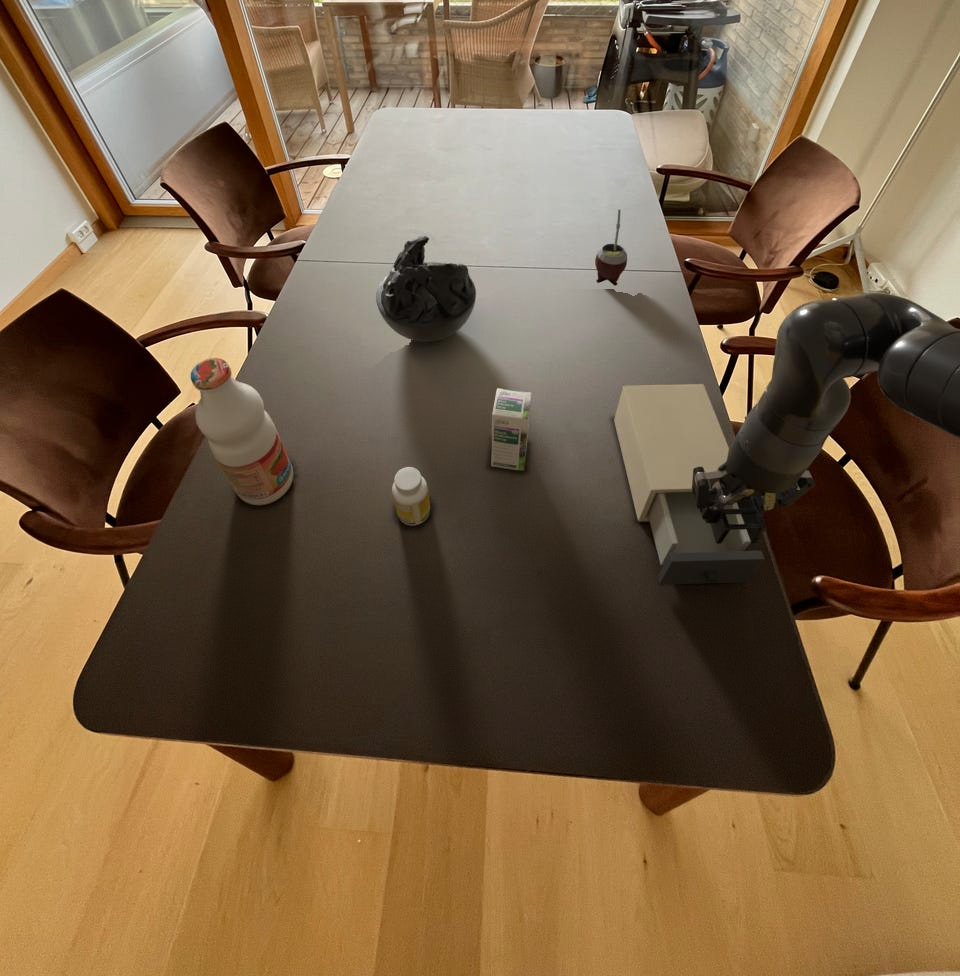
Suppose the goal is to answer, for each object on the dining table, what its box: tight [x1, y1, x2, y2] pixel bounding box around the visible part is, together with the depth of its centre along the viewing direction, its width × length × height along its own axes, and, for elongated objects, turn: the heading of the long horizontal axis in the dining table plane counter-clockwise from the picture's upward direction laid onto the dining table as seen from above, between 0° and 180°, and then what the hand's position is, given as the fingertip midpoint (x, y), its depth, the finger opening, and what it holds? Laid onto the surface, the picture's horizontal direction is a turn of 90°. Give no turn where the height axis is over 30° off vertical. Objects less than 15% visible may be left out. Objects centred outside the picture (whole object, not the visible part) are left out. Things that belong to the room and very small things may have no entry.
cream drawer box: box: [613, 383, 730, 523], centre depth 94 cm, size 20×14×10 cm
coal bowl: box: [375, 235, 477, 343], centre depth 114 cm, size 20×20×19 cm
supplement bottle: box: [391, 466, 431, 526], centre depth 88 cm, size 5×5×10 cm
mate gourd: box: [594, 209, 628, 286], centre depth 128 cm, size 8×8×15 cm
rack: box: [710, 493, 768, 544], centre depth 73 cm, size 5×7×4 cm
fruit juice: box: [190, 357, 294, 506], centre depth 85 cm, size 9×9×28 cm
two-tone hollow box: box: [647, 492, 765, 586], centre depth 86 cm, size 20×13×8 cm, turn 2°
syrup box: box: [490, 387, 533, 472], centre depth 94 cm, size 6×6×14 cm
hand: (727, 515), depth 74 cm, fingers closed on rack, 5 cm apart
